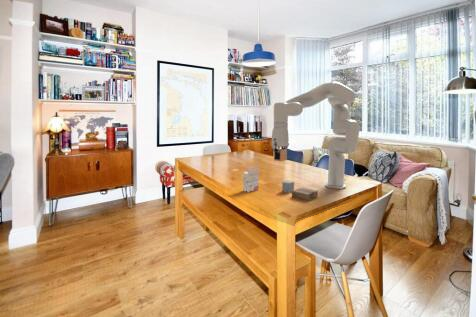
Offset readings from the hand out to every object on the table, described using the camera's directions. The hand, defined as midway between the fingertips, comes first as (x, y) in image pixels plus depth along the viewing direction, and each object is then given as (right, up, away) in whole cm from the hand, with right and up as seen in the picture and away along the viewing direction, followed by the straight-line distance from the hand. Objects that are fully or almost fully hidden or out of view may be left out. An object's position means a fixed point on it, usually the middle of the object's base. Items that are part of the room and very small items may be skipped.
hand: (280, 158), depth 140 cm
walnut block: (+14, -22, +2) cm, 26 cm away
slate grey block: (+7, -20, +13) cm, 25 cm away
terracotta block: (0, -1, 0) cm, 1 cm away
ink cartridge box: (-16, -20, +16) cm, 30 cm away
